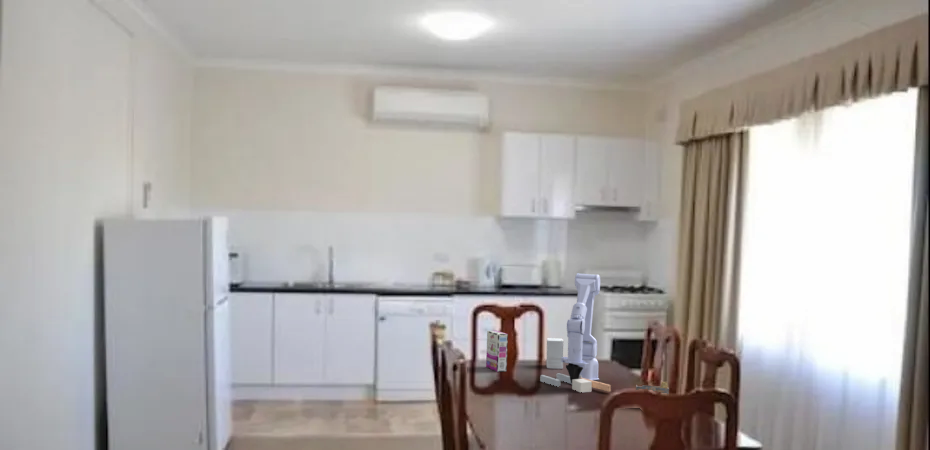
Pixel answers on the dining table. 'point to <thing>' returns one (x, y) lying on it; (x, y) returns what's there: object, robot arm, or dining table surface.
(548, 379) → the dock
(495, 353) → the candy bar box
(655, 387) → the ruin model on sheet
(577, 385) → the white block
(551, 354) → the supplement box
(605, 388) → the tan flat bar
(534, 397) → the dining table surface
